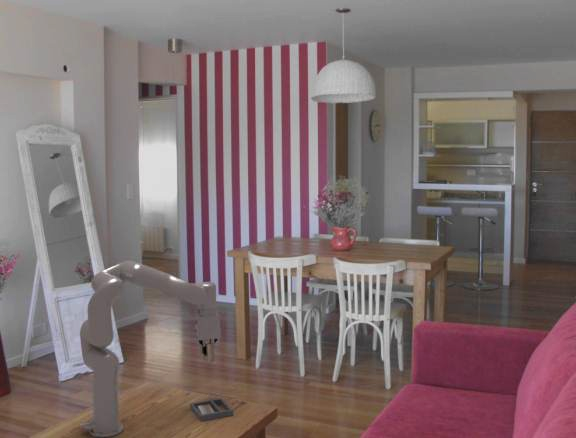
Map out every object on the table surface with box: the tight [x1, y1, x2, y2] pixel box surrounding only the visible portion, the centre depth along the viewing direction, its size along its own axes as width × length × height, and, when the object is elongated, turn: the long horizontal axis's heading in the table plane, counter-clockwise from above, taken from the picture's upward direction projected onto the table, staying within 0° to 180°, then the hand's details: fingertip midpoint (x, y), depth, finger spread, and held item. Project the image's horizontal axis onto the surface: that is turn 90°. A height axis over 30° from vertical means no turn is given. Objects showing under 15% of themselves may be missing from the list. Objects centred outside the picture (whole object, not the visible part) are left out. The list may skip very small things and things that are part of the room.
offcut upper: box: [198, 404, 215, 415], centre depth 265 cm, size 5×10×2 cm, turn 20°
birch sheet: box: [199, 341, 215, 363], centre depth 277 cm, size 2×7×12 cm
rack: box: [189, 397, 234, 423], centre depth 266 cm, size 14×14×3 cm
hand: (207, 354), depth 276 cm, fingers closed on birch sheet, 1 cm apart
